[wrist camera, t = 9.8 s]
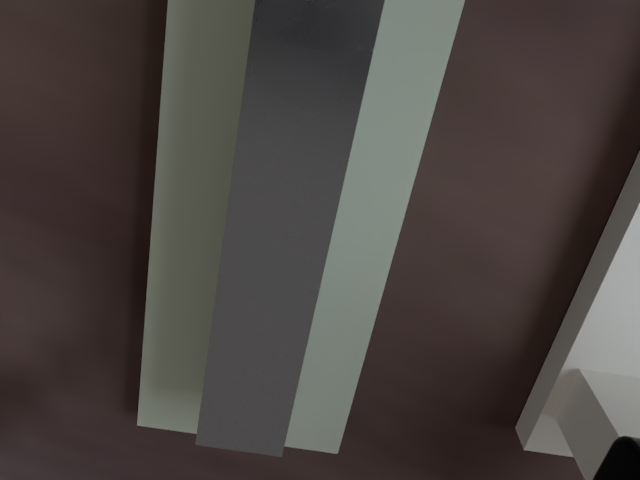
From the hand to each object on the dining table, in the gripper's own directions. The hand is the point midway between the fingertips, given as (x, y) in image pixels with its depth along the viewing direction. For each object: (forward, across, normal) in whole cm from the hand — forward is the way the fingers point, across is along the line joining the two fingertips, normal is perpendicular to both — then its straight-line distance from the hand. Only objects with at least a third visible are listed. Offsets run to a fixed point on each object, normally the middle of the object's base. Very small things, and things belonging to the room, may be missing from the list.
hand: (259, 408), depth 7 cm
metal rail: (+12, 0, 0) cm, 12 cm away
